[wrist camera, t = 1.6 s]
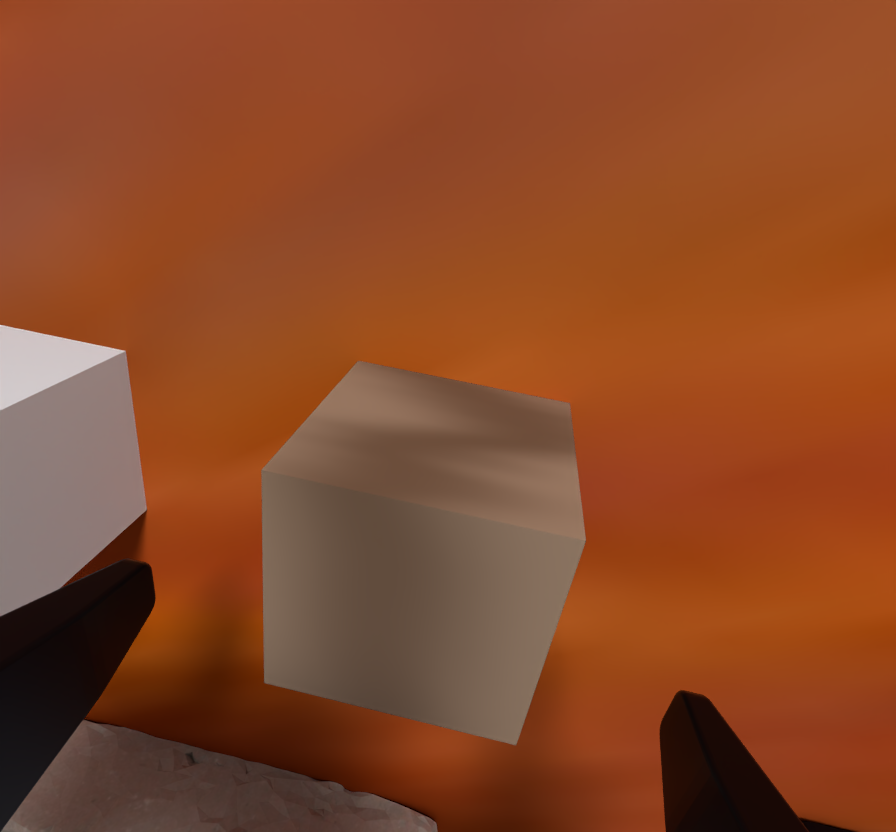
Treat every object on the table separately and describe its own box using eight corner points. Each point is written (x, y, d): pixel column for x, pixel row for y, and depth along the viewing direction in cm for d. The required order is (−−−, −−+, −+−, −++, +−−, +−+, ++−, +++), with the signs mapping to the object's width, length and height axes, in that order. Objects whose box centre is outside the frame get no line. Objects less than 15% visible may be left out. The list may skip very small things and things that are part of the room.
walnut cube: (569, 401, 12) (585, 540, 8) (523, 565, 15) (516, 745, 10) (359, 359, 13) (261, 470, 8) (346, 525, 15) (264, 682, 10)
